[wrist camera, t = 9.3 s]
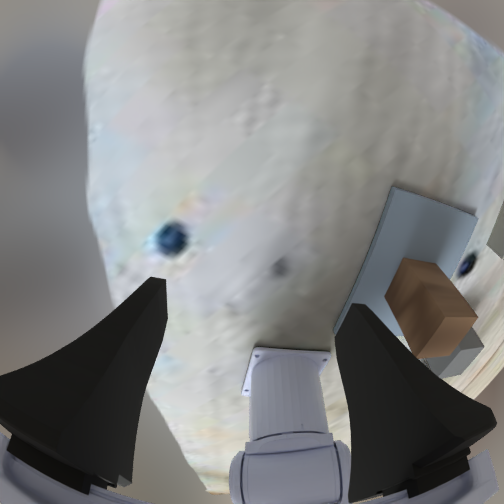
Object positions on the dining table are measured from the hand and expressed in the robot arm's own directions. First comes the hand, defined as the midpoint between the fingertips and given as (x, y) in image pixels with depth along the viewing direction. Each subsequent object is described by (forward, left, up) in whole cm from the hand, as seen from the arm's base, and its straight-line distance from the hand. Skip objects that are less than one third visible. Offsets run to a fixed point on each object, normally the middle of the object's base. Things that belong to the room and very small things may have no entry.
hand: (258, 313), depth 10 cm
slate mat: (-3, -14, -9) cm, 17 cm away
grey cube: (-10, -25, -10) cm, 29 cm away
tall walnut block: (-3, -14, -9) cm, 17 cm away
